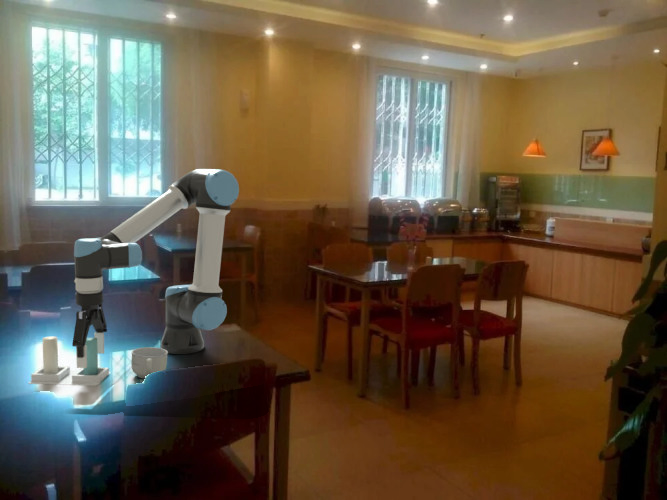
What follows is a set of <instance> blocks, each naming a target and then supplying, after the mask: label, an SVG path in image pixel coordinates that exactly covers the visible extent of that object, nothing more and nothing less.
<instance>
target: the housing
mask: <svg viewBox="0 0 667 500" xmlns="http://www.w3.org/2000/svg"><path fill="white" fill-rule="evenodd" d="M111 373H112V371H110V368H109V367H99V366H98V375H84V368H80V369H79V370H71V367H70V366H64V365H63V366H62V365H58V373H57V374H44V369H43V366H42V367H40V368H39V369H37V370H36V371H35V370H34V372H33V373H31V374H30V377H31V378H30V379H31V381H29V382H28V384H32V385H33V384H35V385H37V384H38V385H63V386H64V385H68V386H70V385H71V386H95V387H96V386H98V385H99V384H100V383H101V382H102V381H103V380H104V379H106V378H107V376H109V375H110V374H111Z"/></svg>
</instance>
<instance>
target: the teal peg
mask: <svg viewBox="0 0 667 500" xmlns="http://www.w3.org/2000/svg"><path fill="white" fill-rule="evenodd" d="M85 345H87V368H84V375H98V367H99V366H98V365H99V364H98V363H99V360H98V359H99V358H98V354H99V353H98V349H97V338H94V337H87V339H86V343H85Z"/></svg>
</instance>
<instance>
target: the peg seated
mask: <svg viewBox="0 0 667 500" xmlns="http://www.w3.org/2000/svg"><path fill="white" fill-rule="evenodd" d="M42 359H43V361H42V364H43V366H42V367H43V369H44V374H57V373H58V366H59V355H58V337H57V336H45V337H42Z"/></svg>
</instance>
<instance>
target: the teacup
mask: <svg viewBox="0 0 667 500" xmlns="http://www.w3.org/2000/svg"><path fill="white" fill-rule="evenodd" d="M168 354H169V353H168V351H167V350H165V349H162V348H161V347H153V346H151V347H150V346H149V347H145V346H144V347H138V348H135V349H132V351H131V371H132V372H133V373H134V374H135V375H136V376H137V377H138V378H140V379H146V378H145V376H147V375H148V374H151V373H153V372H157V371H163V370H165V371H166V369H167V364H168V363H167V362H168Z"/></svg>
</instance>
